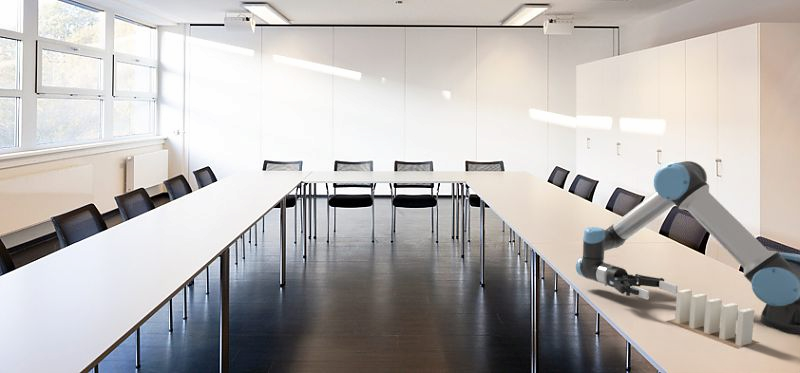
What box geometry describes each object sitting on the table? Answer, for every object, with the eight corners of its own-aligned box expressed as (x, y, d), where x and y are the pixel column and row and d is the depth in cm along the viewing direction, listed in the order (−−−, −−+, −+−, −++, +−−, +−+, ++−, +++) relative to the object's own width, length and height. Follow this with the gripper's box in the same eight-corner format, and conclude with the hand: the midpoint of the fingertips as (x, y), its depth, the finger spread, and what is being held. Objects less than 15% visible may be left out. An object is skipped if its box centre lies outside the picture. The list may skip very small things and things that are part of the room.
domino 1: (674, 321, 186) (677, 291, 185) (685, 319, 188) (687, 289, 187) (679, 323, 185) (681, 292, 183) (689, 320, 187) (692, 290, 186)
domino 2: (689, 326, 182) (691, 295, 180) (699, 324, 184) (702, 293, 183) (693, 328, 180) (695, 297, 179) (704, 325, 183) (706, 294, 181)
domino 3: (703, 332, 177) (706, 300, 176) (714, 329, 180) (716, 298, 178) (708, 334, 176) (711, 302, 175) (719, 331, 178) (721, 299, 177)
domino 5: (735, 344, 168) (738, 310, 167) (746, 341, 171) (749, 308, 169) (740, 346, 167) (743, 312, 166) (751, 342, 169) (754, 309, 168)
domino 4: (719, 338, 173) (721, 305, 172) (729, 335, 175) (732, 302, 174) (724, 339, 171) (726, 307, 170) (735, 337, 174) (737, 304, 172)
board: (686, 318, 191) (686, 316, 191) (759, 344, 170) (759, 342, 170) (665, 323, 187) (665, 321, 187) (737, 350, 165) (737, 348, 165)
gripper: (636, 281, 217) (687, 298, 199) (586, 290, 206) (635, 309, 187) (637, 262, 216) (688, 276, 198) (587, 270, 205) (636, 286, 186)
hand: (662, 292), depth 193 cm, fingers open, 13 cm apart
